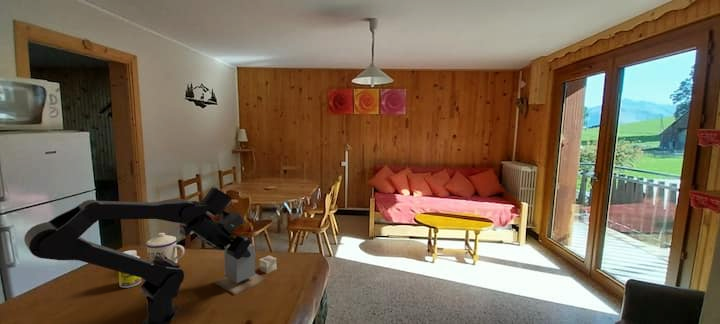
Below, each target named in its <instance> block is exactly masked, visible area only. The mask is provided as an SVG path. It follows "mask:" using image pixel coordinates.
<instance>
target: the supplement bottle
mask: <svg viewBox="0 0 720 324" xmlns="http://www.w3.org/2000/svg"><path fill="white" fill-rule="evenodd" d="M123 253H126V254H129V255H132V256H135V257H138V258H141V256H139V255H138V253H137V250H135V249H134V250H133V249H132V250H131V249H129V250H126V251H123ZM117 272H118V283H119V284H118V285H119V287H120V288H123V289H124V288H125V289H127V288H132V287H135V286H138V285H139V284H141V282H142V278H140V277H137V276H133V275H130V274H126V273H122V272H119V271H117Z"/></svg>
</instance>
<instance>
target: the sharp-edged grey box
mask: <svg viewBox="0 0 720 324" xmlns="http://www.w3.org/2000/svg"><path fill="white" fill-rule="evenodd" d="M229 246H230V245H227V247H226V248H225V247H224V250H223V251H224V270H225V271H224V272H225V274H224V275H225V276H224V278H225V277H227V278H229V279H231V280H232V281H234V282H236V283H238V282H241V281H243V280H245V279H247V278H250V277H252V276H254V275H255V273H256V256H255V255H256V252H255V251H256V250H255V244H254V243H253V244H252V243H251V244H250V245H249V247H248V248H247V249H248V250H249V252H250V254H251V256H250V257H249V258H246V257H241V258H240V259H236V258H234V257H232V256H230V255H229V254H227V249H228V247H229Z"/></svg>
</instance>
